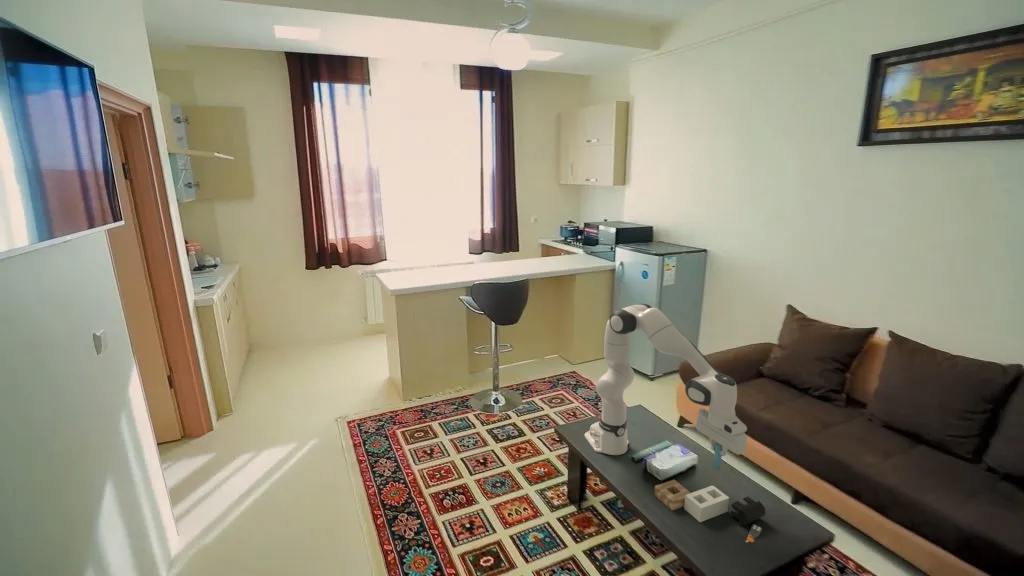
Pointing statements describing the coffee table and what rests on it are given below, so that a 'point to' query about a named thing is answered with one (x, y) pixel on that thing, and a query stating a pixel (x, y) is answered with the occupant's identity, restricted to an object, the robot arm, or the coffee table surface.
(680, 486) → the mount block
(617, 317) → the robot arm
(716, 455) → the pin
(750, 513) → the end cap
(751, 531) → the key chain
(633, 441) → the coffee table surface
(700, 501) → the white cinder block
